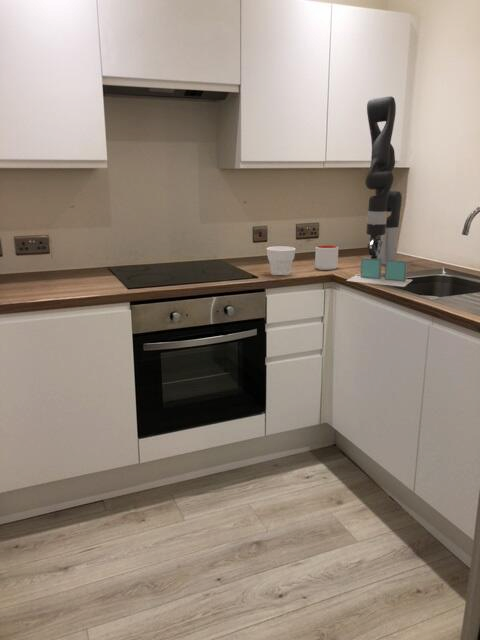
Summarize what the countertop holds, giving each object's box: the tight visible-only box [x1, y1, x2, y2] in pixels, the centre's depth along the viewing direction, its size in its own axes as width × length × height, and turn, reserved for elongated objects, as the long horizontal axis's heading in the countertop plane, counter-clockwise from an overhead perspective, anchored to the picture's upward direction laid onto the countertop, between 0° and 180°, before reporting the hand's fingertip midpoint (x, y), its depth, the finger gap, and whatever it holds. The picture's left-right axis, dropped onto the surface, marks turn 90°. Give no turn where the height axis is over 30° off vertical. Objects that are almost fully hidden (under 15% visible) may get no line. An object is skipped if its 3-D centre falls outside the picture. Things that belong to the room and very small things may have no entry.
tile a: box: [360, 257, 383, 279], centre depth 210 cm, size 2×8×8 cm, turn 59°
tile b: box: [384, 259, 408, 282], centre depth 205 cm, size 2×8×8 cm, turn 60°
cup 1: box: [266, 245, 296, 276], centre depth 221 cm, size 12×12×11 cm
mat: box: [345, 274, 413, 288], centre depth 206 cm, size 14×23×1 cm, turn 59°
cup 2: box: [314, 244, 339, 271], centre depth 231 cm, size 10×10×10 cm
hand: (373, 265), depth 212 cm, fingers closed
